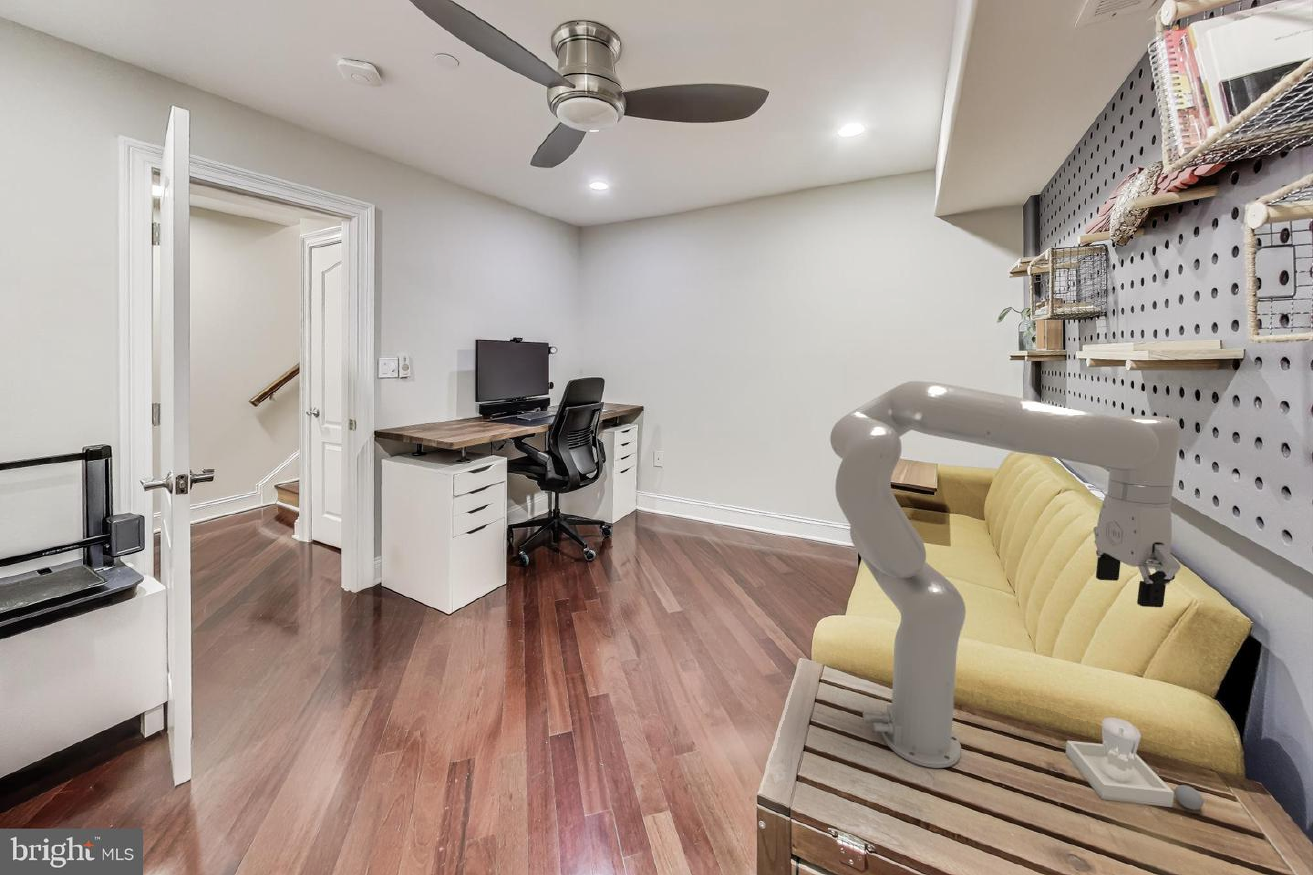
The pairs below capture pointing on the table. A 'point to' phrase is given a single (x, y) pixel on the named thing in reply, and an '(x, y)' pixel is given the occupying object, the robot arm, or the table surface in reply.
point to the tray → (1136, 790)
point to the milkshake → (1119, 748)
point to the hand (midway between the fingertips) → (1127, 592)
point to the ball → (1188, 797)
